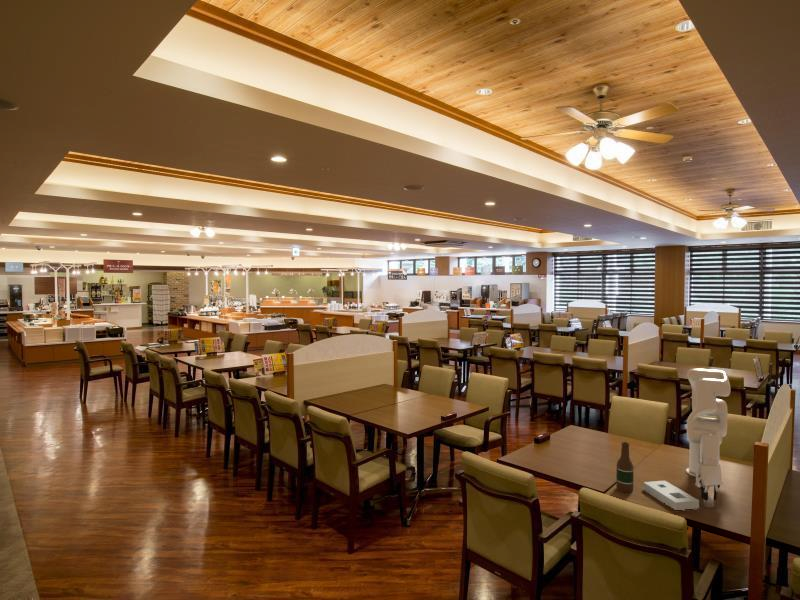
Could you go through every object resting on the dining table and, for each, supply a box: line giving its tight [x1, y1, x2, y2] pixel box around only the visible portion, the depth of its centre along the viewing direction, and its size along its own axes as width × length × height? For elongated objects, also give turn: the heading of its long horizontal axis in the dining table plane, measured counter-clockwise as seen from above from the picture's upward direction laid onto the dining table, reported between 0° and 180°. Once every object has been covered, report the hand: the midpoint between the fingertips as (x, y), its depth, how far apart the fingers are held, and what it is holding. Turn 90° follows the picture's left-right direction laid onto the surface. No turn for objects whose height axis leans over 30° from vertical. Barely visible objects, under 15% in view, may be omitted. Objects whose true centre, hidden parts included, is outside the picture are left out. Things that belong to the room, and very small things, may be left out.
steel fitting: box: [703, 485, 715, 508], centre depth 218 cm, size 4×4×10 cm
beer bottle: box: [615, 441, 635, 494], centre depth 235 cm, size 8×8×24 cm
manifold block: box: [642, 480, 700, 511], centre depth 224 cm, size 12×22×4 cm, turn 9°
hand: (708, 498), depth 218 cm, fingers closed on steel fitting, 4 cm apart
